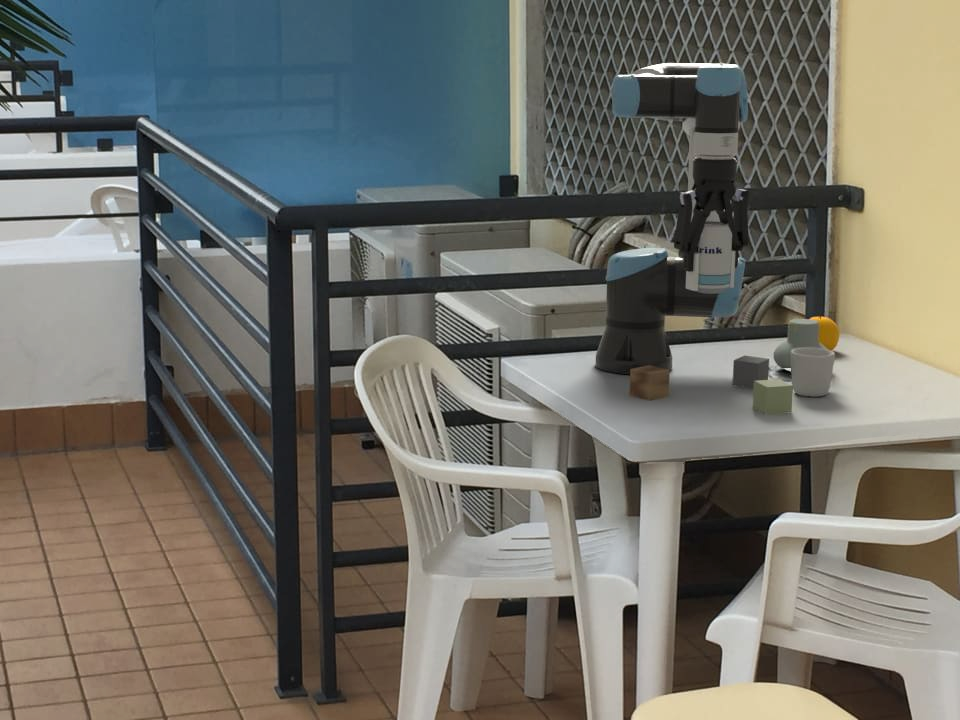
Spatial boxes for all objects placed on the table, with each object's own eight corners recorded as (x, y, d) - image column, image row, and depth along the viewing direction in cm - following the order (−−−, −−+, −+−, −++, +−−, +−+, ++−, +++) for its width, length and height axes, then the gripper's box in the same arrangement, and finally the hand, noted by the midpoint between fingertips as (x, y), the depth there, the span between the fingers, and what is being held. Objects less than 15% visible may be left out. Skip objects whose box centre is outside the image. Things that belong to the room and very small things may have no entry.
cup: (807, 384, 279) (810, 342, 277) (846, 390, 274) (849, 348, 272) (780, 394, 271) (782, 352, 269) (820, 401, 266) (822, 358, 264)
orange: (817, 357, 302) (819, 321, 300) (791, 349, 308) (793, 314, 307) (846, 353, 306) (848, 317, 304) (819, 345, 312) (822, 311, 311)
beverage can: (685, 292, 257) (688, 224, 255) (694, 286, 264) (697, 219, 261) (725, 295, 255) (728, 226, 252) (733, 289, 261) (736, 222, 259)
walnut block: (629, 395, 269) (630, 369, 268) (648, 391, 273) (649, 365, 271) (650, 400, 266) (650, 374, 265) (668, 396, 269) (669, 369, 268)
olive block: (752, 408, 261) (753, 380, 260) (777, 406, 263) (779, 379, 262) (765, 415, 257) (767, 387, 255) (791, 413, 258) (793, 385, 257)
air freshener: (787, 377, 284) (790, 327, 281) (765, 368, 291) (768, 319, 289) (836, 374, 287) (839, 323, 285) (814, 365, 295) (816, 316, 293)
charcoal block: (732, 386, 277) (733, 360, 276) (743, 381, 281) (744, 355, 280) (757, 389, 274) (758, 363, 273) (767, 384, 279) (769, 358, 277)
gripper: (679, 160, 247) (674, 295, 252) (775, 156, 255) (768, 287, 260) (654, 157, 253) (650, 288, 258) (748, 153, 262) (742, 280, 267)
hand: (709, 287), depth 259 cm, fingers closed on beverage can, 7 cm apart
